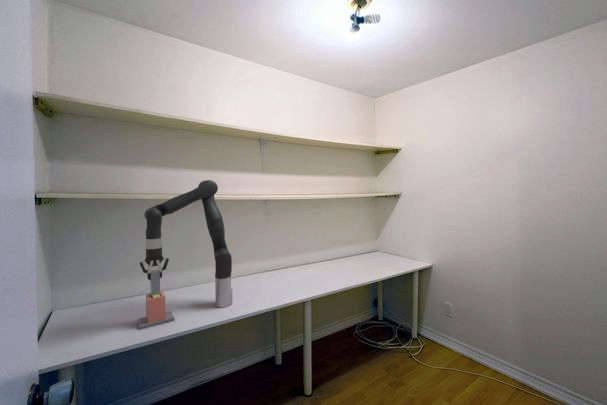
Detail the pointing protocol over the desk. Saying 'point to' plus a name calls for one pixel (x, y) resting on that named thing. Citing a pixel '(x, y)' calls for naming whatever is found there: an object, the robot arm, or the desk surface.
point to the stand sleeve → (155, 312)
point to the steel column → (155, 282)
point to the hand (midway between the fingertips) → (154, 279)
